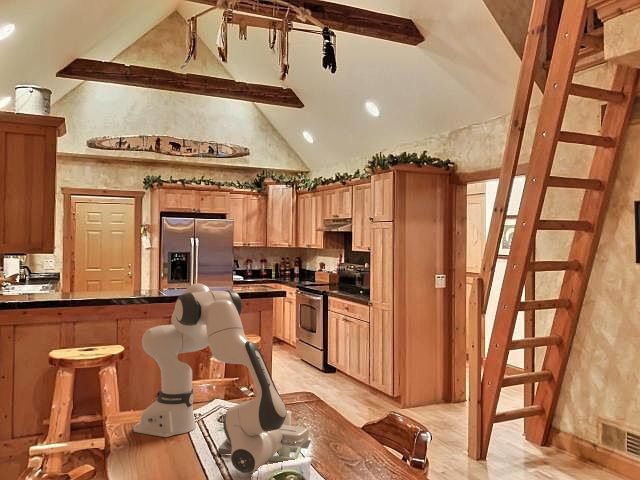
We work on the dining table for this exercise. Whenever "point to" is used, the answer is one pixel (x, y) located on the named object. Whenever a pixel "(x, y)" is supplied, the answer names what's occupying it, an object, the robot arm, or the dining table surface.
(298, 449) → the tray
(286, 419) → the pin
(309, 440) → the socket plate
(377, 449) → the dining table surface
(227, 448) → the crank base
